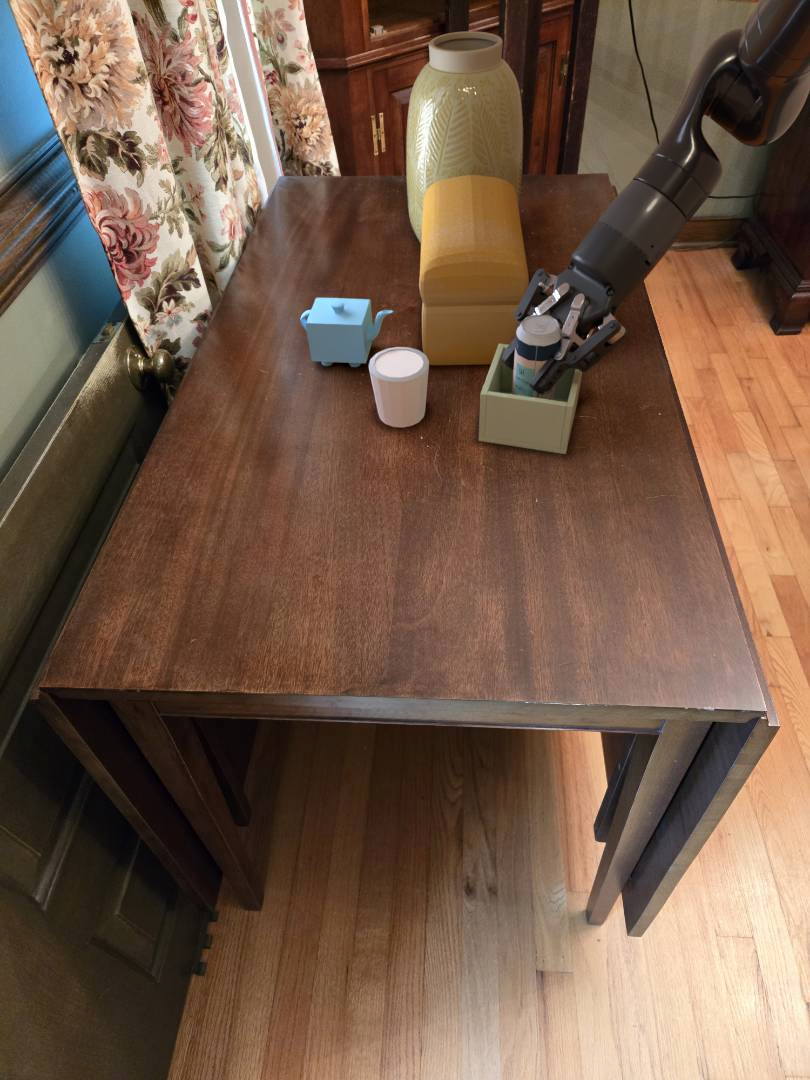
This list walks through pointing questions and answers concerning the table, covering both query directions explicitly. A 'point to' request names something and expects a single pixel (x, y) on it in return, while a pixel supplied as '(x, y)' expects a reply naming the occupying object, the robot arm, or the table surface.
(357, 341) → the teapot
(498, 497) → the table surface
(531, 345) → the beer can
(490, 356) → the bread
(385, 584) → the table surface
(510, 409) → the bin
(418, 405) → the white cup
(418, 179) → the vase
